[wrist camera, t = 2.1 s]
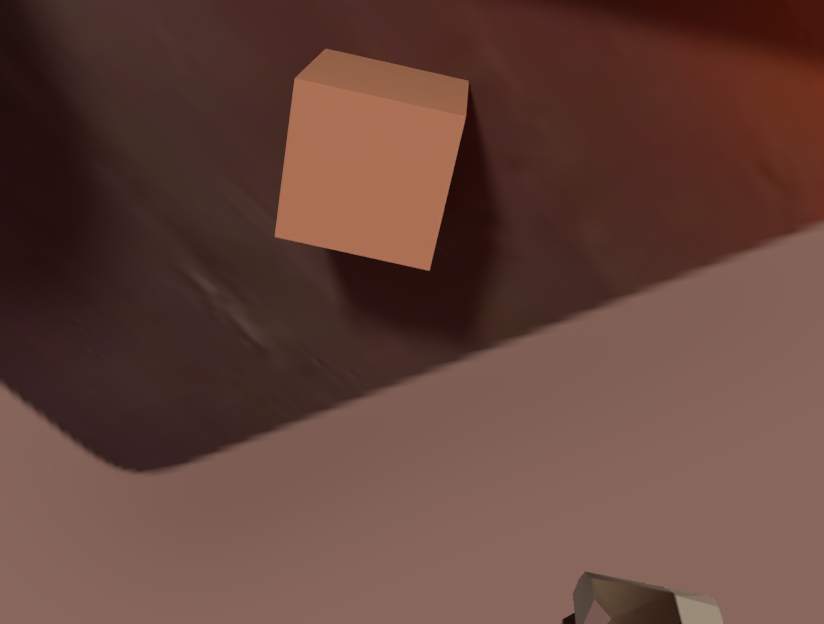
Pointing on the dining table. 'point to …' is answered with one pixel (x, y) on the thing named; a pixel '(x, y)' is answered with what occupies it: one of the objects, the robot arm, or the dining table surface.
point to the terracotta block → (370, 157)
